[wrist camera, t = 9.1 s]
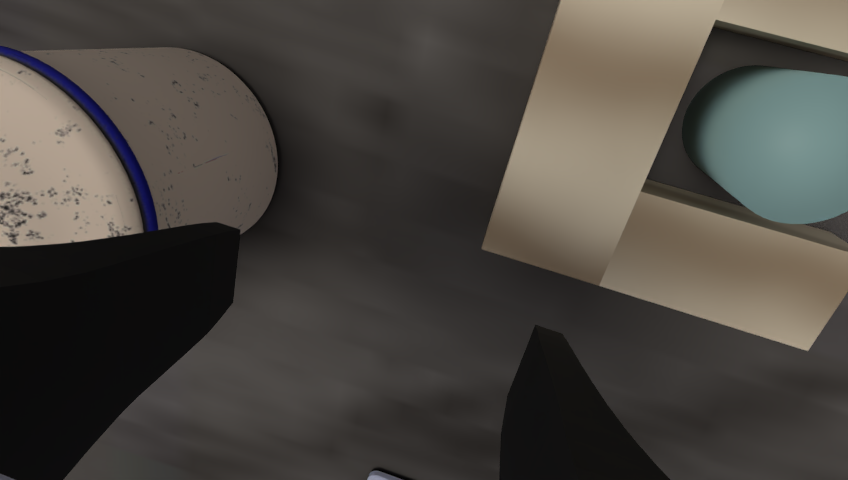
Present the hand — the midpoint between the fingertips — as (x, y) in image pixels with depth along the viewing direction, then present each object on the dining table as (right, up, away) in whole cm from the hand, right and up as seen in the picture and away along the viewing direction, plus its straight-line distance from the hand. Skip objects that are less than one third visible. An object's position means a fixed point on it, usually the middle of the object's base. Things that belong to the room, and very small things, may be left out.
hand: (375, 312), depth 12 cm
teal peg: (+12, +6, +6) cm, 15 cm away
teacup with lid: (-10, +5, +12) cm, 16 cm away
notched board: (+11, +6, +7) cm, 14 cm away
